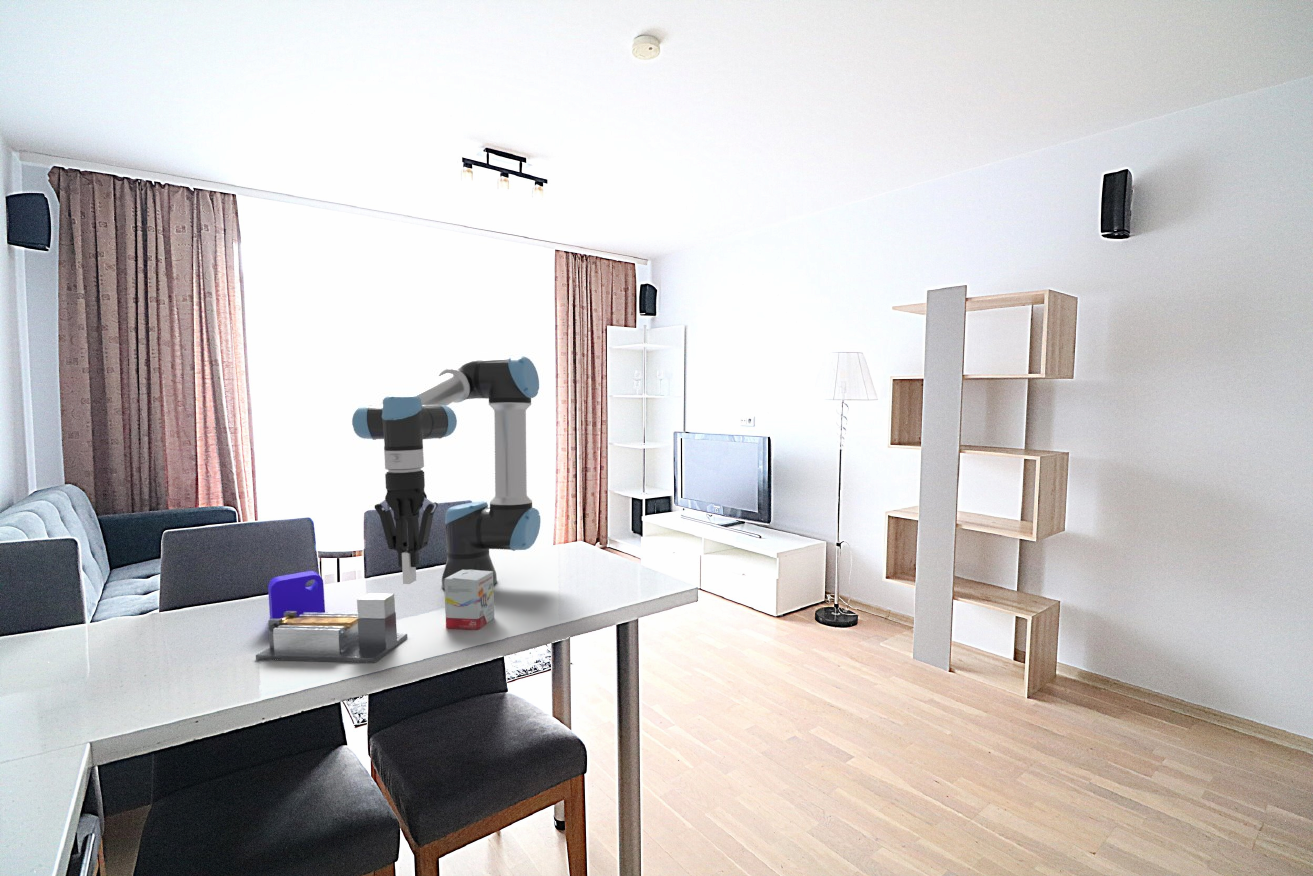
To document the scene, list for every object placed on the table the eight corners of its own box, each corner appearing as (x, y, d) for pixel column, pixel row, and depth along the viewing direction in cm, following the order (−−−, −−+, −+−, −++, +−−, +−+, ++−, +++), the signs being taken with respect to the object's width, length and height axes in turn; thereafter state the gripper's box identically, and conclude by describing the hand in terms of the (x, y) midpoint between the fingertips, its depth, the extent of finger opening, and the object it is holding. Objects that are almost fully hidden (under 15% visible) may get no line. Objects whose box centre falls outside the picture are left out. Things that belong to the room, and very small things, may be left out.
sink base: (298, 635, 141) (296, 603, 140) (407, 638, 138) (405, 605, 137) (255, 659, 128) (253, 624, 127) (374, 662, 125) (373, 627, 124)
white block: (368, 611, 133) (367, 593, 133) (395, 612, 133) (394, 593, 133) (357, 618, 129) (356, 599, 129) (385, 618, 129) (384, 599, 129)
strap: (282, 624, 135) (281, 616, 135) (359, 624, 133) (358, 615, 133) (272, 629, 132) (271, 621, 132) (351, 629, 130) (350, 620, 130)
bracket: (325, 620, 150) (322, 573, 150) (273, 632, 143) (270, 582, 143) (310, 603, 164) (308, 559, 163) (262, 612, 157) (259, 567, 157)
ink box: (478, 630, 141) (476, 579, 141) (444, 628, 143) (442, 578, 142) (495, 617, 150) (493, 569, 149) (463, 615, 152) (461, 568, 151)
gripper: (364, 472, 125) (370, 587, 127) (426, 472, 124) (430, 587, 125) (385, 468, 133) (390, 576, 134) (442, 467, 131) (447, 577, 133)
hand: (409, 582), depth 130 cm, fingers closed
